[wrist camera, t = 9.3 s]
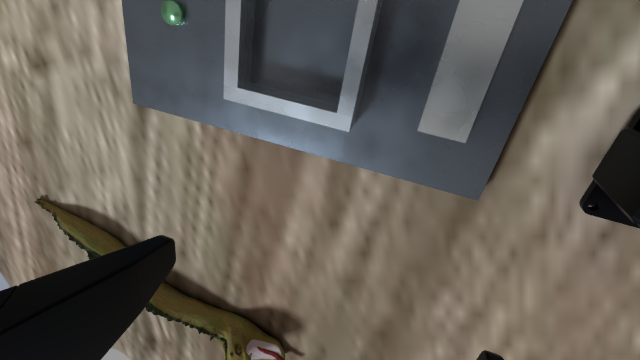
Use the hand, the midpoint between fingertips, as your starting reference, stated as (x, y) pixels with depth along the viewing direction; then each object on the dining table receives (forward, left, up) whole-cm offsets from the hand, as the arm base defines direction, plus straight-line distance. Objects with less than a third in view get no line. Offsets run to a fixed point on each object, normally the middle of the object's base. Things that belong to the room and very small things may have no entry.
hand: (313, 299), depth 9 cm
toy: (+16, +18, -13) cm, 27 cm away
